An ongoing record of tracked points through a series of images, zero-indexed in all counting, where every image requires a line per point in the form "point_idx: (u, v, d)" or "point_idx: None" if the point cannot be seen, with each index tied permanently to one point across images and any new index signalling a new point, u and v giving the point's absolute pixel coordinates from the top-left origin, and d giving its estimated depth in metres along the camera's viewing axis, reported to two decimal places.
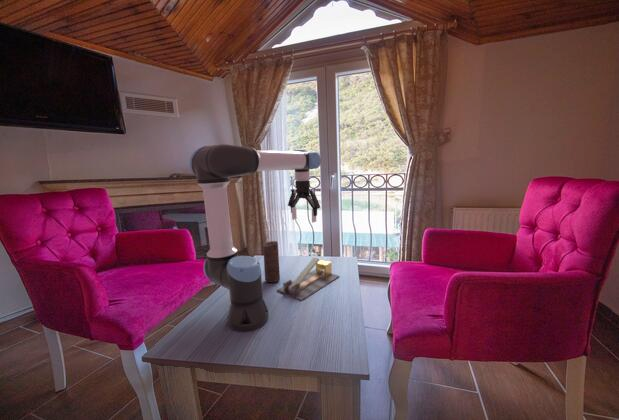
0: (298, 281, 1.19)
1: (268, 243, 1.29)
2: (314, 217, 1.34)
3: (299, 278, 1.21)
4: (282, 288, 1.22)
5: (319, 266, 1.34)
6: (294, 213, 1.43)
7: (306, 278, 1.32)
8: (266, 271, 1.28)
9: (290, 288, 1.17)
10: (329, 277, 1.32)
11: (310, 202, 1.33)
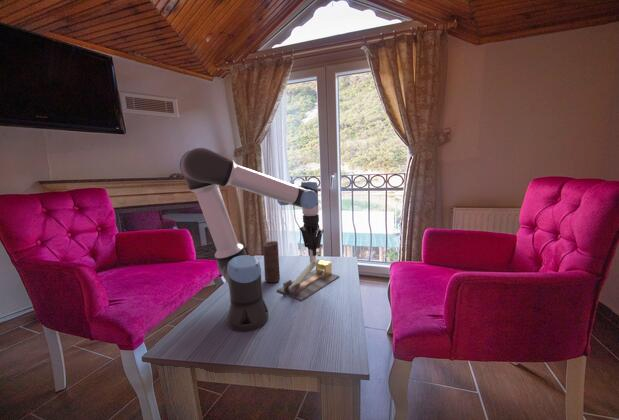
0: (298, 281, 1.19)
1: (268, 243, 1.29)
2: (313, 257, 1.27)
3: (299, 278, 1.21)
4: (282, 288, 1.22)
5: (319, 266, 1.34)
6: None
7: (306, 278, 1.32)
8: (266, 271, 1.28)
9: (290, 288, 1.17)
10: (329, 277, 1.32)
11: (313, 241, 1.24)
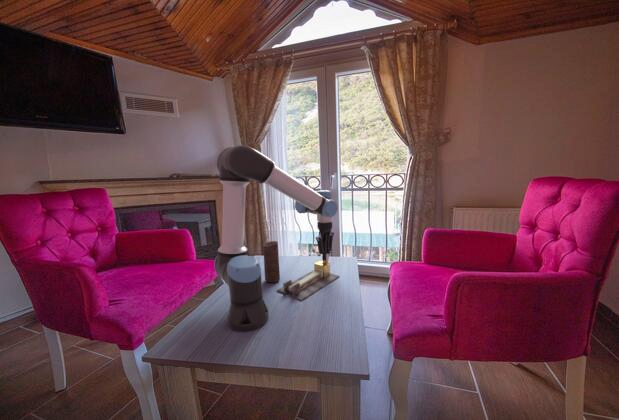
0: None
1: (268, 243, 1.29)
2: (324, 261, 1.36)
3: (300, 282, 1.22)
4: (282, 288, 1.22)
5: (317, 267, 1.33)
6: None
7: None
8: (266, 271, 1.28)
9: (290, 287, 1.17)
10: (329, 277, 1.32)
11: None
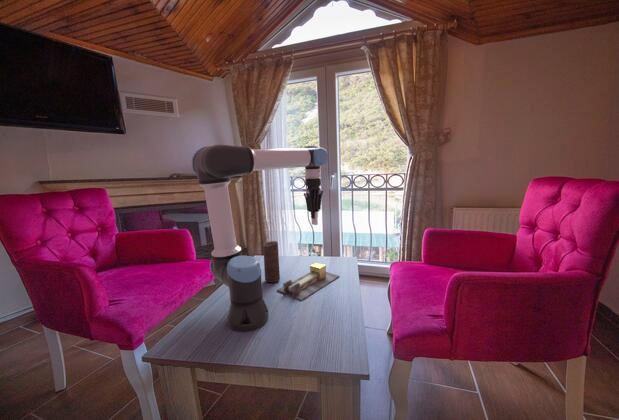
0: None
1: (268, 243, 1.29)
2: (313, 220, 1.34)
3: (300, 282, 1.22)
4: (282, 288, 1.22)
5: (313, 269, 1.30)
6: None
7: None
8: (266, 271, 1.28)
9: (290, 287, 1.17)
10: (329, 277, 1.32)
11: None
